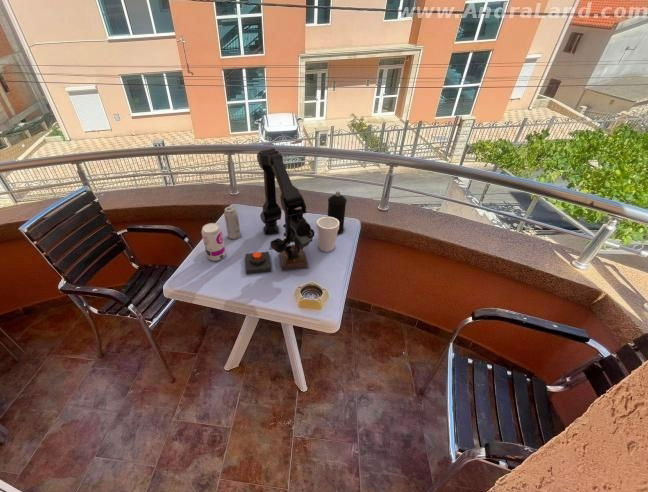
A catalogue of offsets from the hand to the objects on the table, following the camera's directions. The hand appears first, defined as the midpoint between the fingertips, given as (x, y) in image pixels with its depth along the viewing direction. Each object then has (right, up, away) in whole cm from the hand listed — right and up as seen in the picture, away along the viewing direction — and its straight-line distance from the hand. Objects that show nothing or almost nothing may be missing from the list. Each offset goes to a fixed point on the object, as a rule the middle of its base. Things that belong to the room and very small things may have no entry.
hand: (293, 255), depth 134 cm
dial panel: (0, -2, +2) cm, 3 cm away
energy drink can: (-27, +10, +19) cm, 34 cm away
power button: (-15, -1, -1) cm, 15 cm away
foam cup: (+15, +4, +8) cm, 18 cm away
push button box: (-15, -4, +2) cm, 15 cm away
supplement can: (-34, 0, +8) cm, 34 cm away
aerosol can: (+21, +13, +18) cm, 31 cm away
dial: (0, 0, 0) cm, 0 cm away
